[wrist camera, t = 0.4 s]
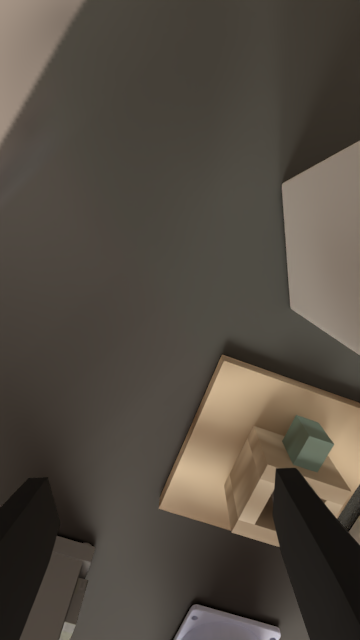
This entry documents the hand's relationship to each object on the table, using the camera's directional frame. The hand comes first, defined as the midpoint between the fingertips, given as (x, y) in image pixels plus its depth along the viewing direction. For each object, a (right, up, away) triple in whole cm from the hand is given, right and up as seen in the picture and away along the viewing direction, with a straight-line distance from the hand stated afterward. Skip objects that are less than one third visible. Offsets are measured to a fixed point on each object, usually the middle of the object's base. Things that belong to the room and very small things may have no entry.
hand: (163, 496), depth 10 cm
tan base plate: (+7, -4, +12) cm, 14 cm away
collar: (+7, -4, +11) cm, 13 cm away
